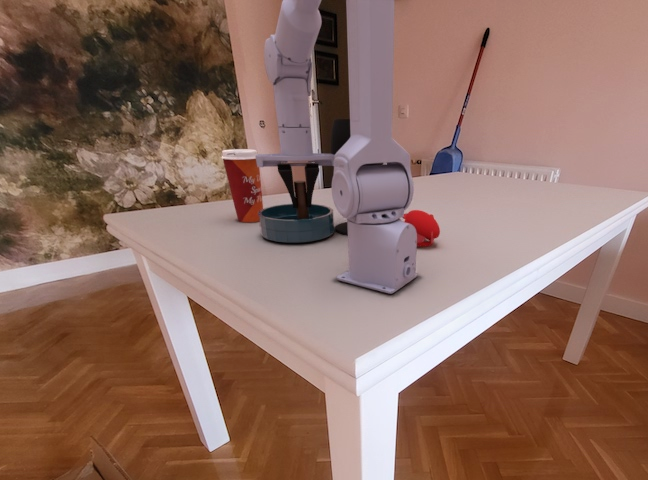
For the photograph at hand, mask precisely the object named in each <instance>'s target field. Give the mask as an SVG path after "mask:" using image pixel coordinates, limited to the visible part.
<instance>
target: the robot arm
mask: <svg viewBox="0 0 648 480" xmlns="http://www.w3.org/2000/svg"><path fill="white" fill-rule="evenodd" d="M395 1H396V0H345V4H346V5H345V7H346V33H347V34H346V35H347V65H348V66H347V67H348V68H347V69H348V98H349V100H348V102H349V119H350V134H351V137H350V138H349V140H348V141H347V142H346V143H345V144H344V145H343V146H342V147H341V148H340V149H339V151H338V152H337V153H336V154H335V155H333V154H331V153H318V152H317V153H316V152H315V153H314V151H313V136H312V125H311V112H310V101H309V100H310V99H309V98H310V97H311V95H312V77H313V62H312V58H311V57H312V53H313V51H314V49H315V48H314V47H315V44H316V42H317V39H318V36H319V33H320V29H321V27H322V22H323V21H322V15H321V13H320V10H319V8H320V5H321V2H322V0H282V1H281V6H280V10H279V13H278V14H279V15H278V19H277V24H276V28H275V31H274V32H275V33H273V34H270V37H268V38H266V39H265V41H264V47H263V59H264V67H265V73H266V76H267V78H268V80H269V82H270V83H271V84H272V89H273V98H274V105H275V115H276V116H275V117H276V123H277V131H278V140H279V149H280V153H267V154H266V153H263V154H260V153H259V154H257V155H256V162H257V167H259V168H264V167H265V168H266V167H270V168H271V167H272V168H273V167H274V168H275V167H277V172H278V174H279V176H280V178H281V180H282V182H283V183H284V186H285V187H286V190H287V192H288V195H289V197H290V200H291V204H293V208H297V204H296V198H295V189H294V178H293V177H294V176H293V168H292V167H304V175H305V182H306V191H307V204H308V208H311V207H312V204H313V203H312V202H313V194H314V189H315V185H316V183H317V179H318V176H319V174H320V167H323V166H324V167H325V166H326V167H327V166H329V167H331V166H332V167H333V175H332V179H331V196H332V201H333V205H334V207H335V209H336V210H337V212H338V213H339V214H340V216H341V217H342V218H343V219H346V222H347V228H348V235H347V250H348V270H347V271H345V272H343V273H341V274H339V275H338V276H337V277H336V279H337V281H339V282H343V283H348V284H351V285H355V286H359V287H361V288H366V289H370V290H373V291H378V292H381V293H386V294H389V295H392V294H394V293H396V292H397V291H399V290H400V289H401V288H403V287H404V286H406V285H408V283H410V282H411V281H413V280H414V279H416V278H417V277H418V273H417V272H416V266H417V264H416V263H417V248H418V246H417V233H416V229H415V227H414V226H413V225H411V224H409V223H405V222H404V220H402V219H403V218H402V217H404V214H405V211H406V210H407V209H409V207H410V205H411V204H412V201H413V197H414V191H415V186H414V185H415V183H414V180H413V175H412V169H411V154H410V153H409V152H408V151H407V150H406V149H405V148H404V147H402V145H401V144H400V143H398V142H397V140H395V139H394V138H393V106H394V105H393V104H394V103H393V102H394V52H395V51H394V49H395V5H396V4H395V3H396V2H395ZM371 163H383V165H370V166H362V165H364V164H371ZM385 163H386V164H385Z"/></svg>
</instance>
